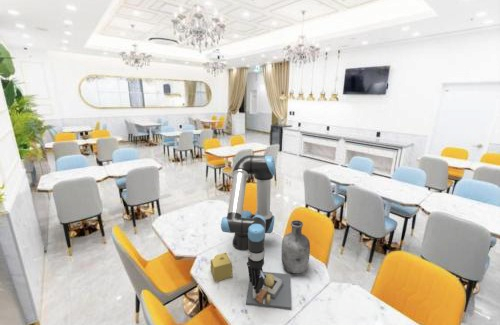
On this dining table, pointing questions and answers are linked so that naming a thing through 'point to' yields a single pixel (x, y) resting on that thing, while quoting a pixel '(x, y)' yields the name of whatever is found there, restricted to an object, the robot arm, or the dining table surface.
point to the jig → (281, 298)
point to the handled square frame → (269, 289)
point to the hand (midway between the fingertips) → (255, 296)
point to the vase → (295, 249)
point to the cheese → (221, 267)
